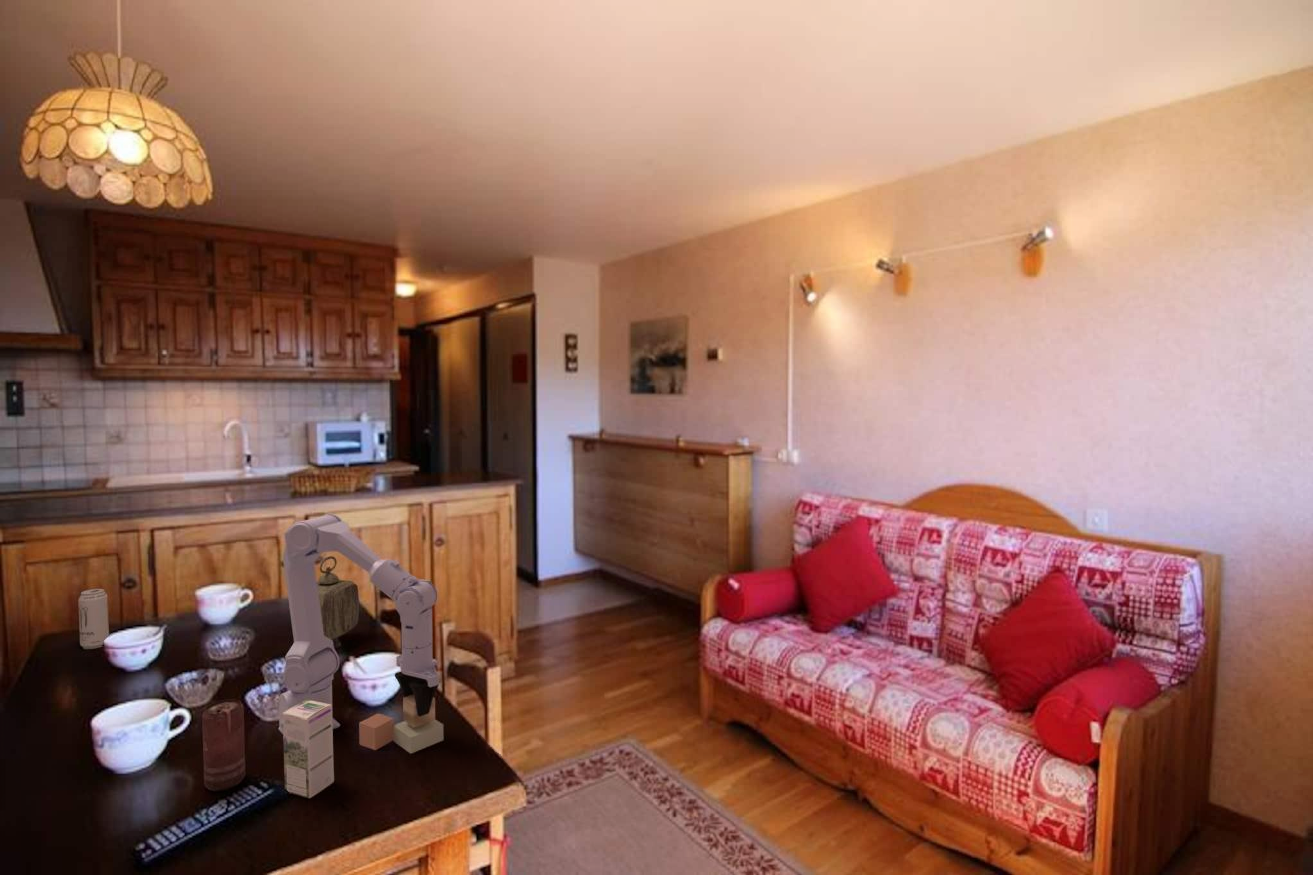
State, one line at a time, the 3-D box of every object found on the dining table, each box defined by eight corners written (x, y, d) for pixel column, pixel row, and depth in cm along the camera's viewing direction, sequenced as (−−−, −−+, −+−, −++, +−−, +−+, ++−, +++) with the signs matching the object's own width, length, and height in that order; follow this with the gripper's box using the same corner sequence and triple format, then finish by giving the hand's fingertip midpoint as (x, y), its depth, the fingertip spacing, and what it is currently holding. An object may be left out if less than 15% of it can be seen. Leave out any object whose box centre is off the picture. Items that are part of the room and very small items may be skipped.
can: (215, 796, 114) (213, 717, 114) (197, 784, 118) (195, 707, 117) (252, 779, 120) (250, 703, 119) (234, 768, 123) (232, 694, 122)
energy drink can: (74, 648, 179) (72, 593, 178) (99, 640, 185) (97, 587, 184) (90, 651, 177) (88, 595, 176) (114, 643, 183) (112, 589, 182)
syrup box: (335, 781, 119) (334, 702, 118) (308, 800, 114) (306, 717, 113) (310, 775, 121) (309, 697, 120) (282, 793, 116) (281, 712, 115)
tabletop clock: (332, 637, 190) (330, 550, 188) (361, 639, 189) (360, 551, 187) (298, 656, 176) (296, 562, 174) (329, 658, 174) (328, 564, 173)
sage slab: (410, 755, 129) (410, 737, 129) (393, 742, 134) (392, 725, 133) (443, 741, 134) (443, 724, 134) (425, 729, 139) (425, 713, 139)
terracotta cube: (375, 750, 130) (374, 728, 130) (359, 744, 132) (359, 722, 132) (394, 740, 134) (393, 718, 134) (378, 734, 136) (378, 713, 136)
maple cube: (413, 727, 131) (413, 705, 130) (403, 719, 134) (403, 697, 134) (435, 719, 134) (435, 697, 134) (424, 712, 137) (424, 690, 137)
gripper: (453, 648, 131) (454, 715, 131) (419, 629, 141) (419, 692, 141) (419, 658, 125) (420, 728, 126) (386, 637, 136) (386, 703, 136)
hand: (417, 710), depth 134 cm, fingers closed on maple cube, 4 cm apart
